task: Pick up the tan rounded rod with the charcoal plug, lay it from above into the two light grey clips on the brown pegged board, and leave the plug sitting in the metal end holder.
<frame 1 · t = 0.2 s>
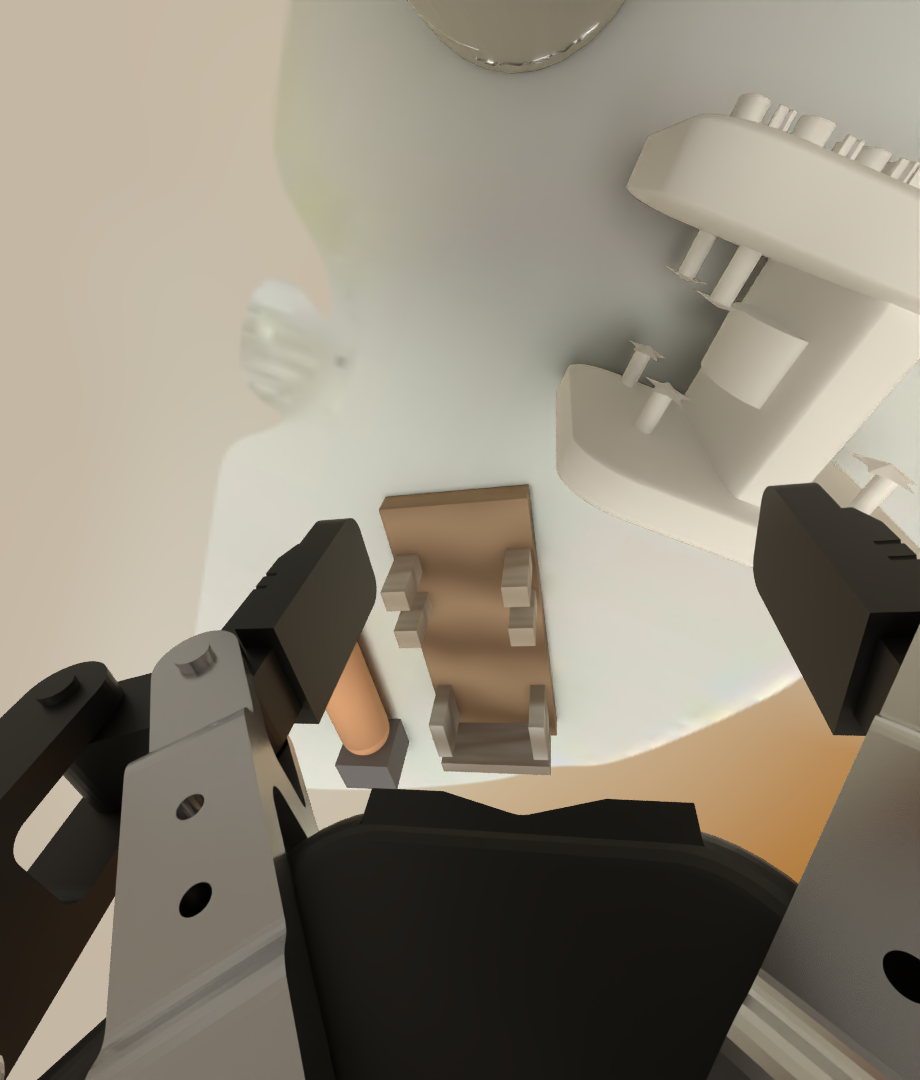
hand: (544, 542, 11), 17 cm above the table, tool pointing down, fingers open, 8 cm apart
tan rounded rod: (358, 676, 41), on the table
cable organizer: (738, 326, 23), on the table
brown pegged board: (477, 600, 35), on the table
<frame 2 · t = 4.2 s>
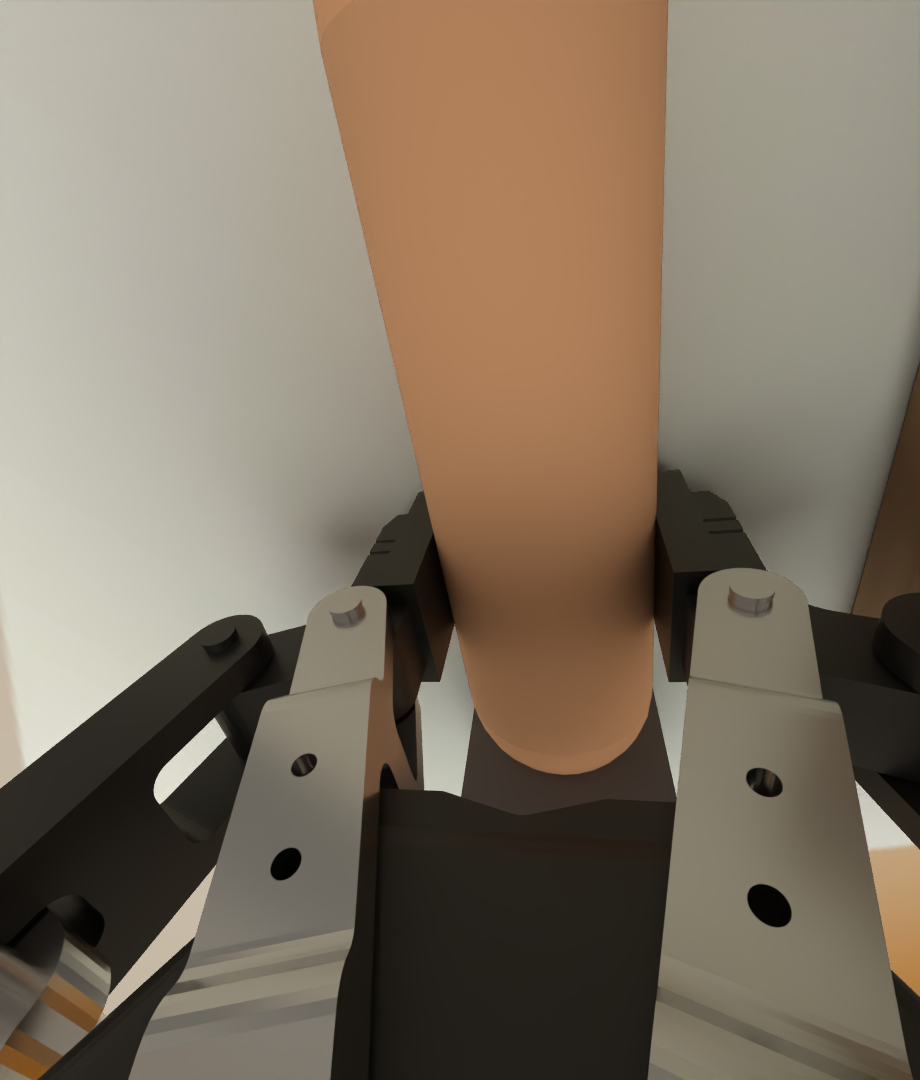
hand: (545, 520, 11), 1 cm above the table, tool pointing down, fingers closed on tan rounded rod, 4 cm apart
tan rounded rod: (542, 479, 11), on the table, touching gripper
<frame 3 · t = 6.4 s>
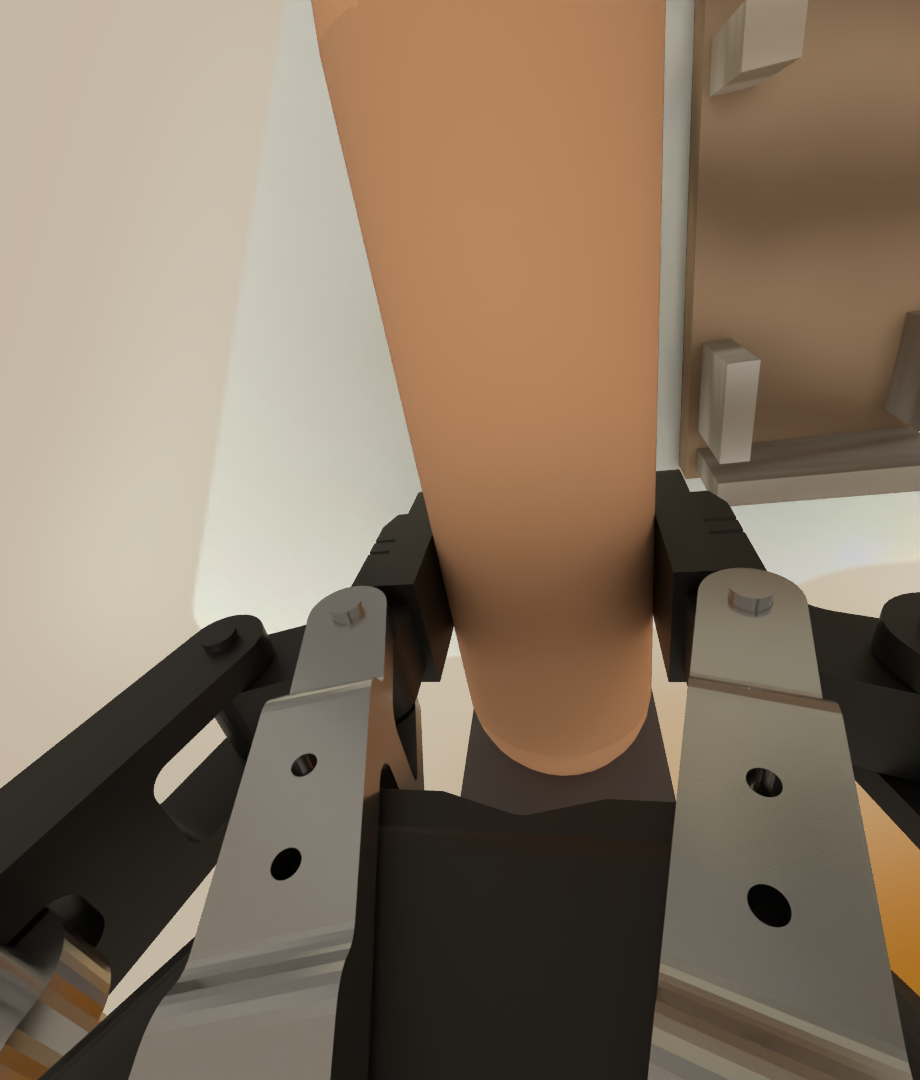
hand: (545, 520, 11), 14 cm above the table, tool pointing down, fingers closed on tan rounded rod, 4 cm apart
tan rounded rod: (541, 481, 11), point 13 cm above the table, touching gripper
brown pegged board: (829, 104, 17), on the table
when the fingers open (3 cm above the table, at t = 9.0 s): tan rounded rod drops 1 cm, resting on brown pegged board.
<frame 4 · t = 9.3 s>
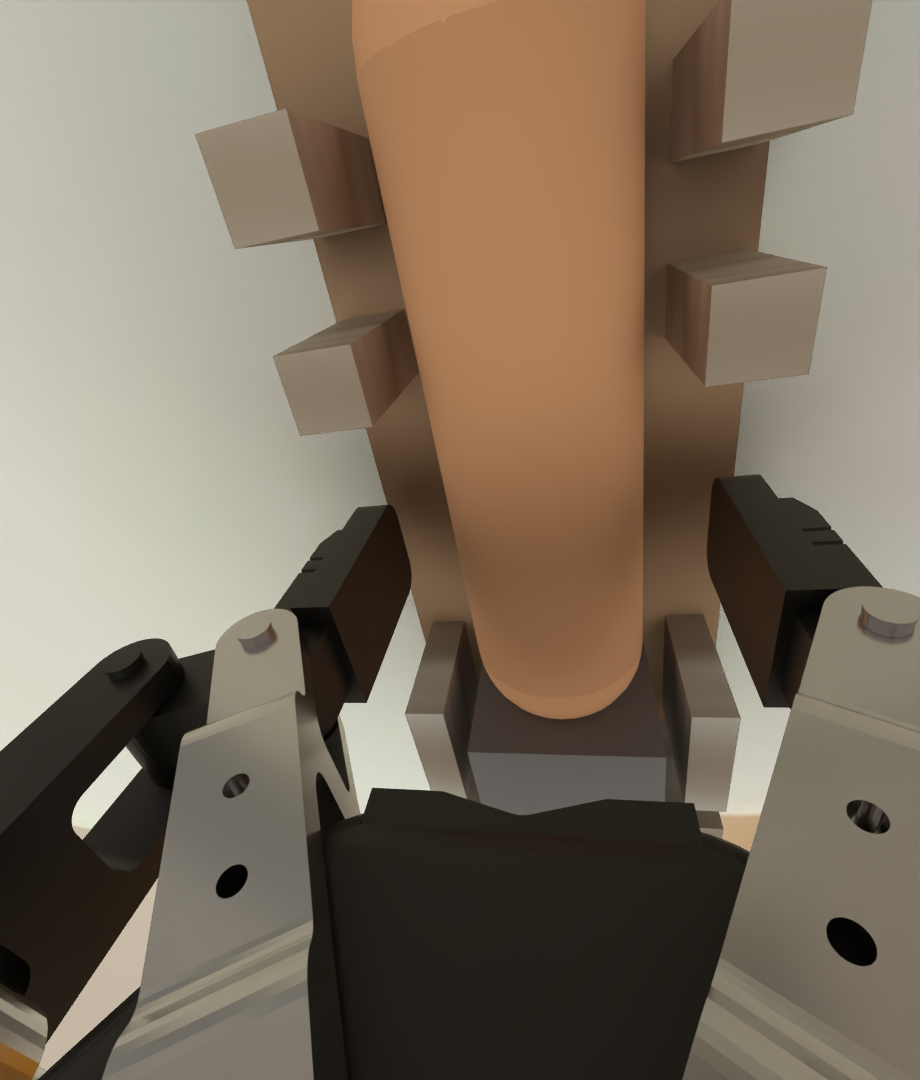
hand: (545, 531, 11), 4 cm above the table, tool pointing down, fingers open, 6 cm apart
tan rounded rod: (544, 454, 13), point 1 cm above the table, touching brown pegged board
brown pegged board: (540, 375, 13), on the table
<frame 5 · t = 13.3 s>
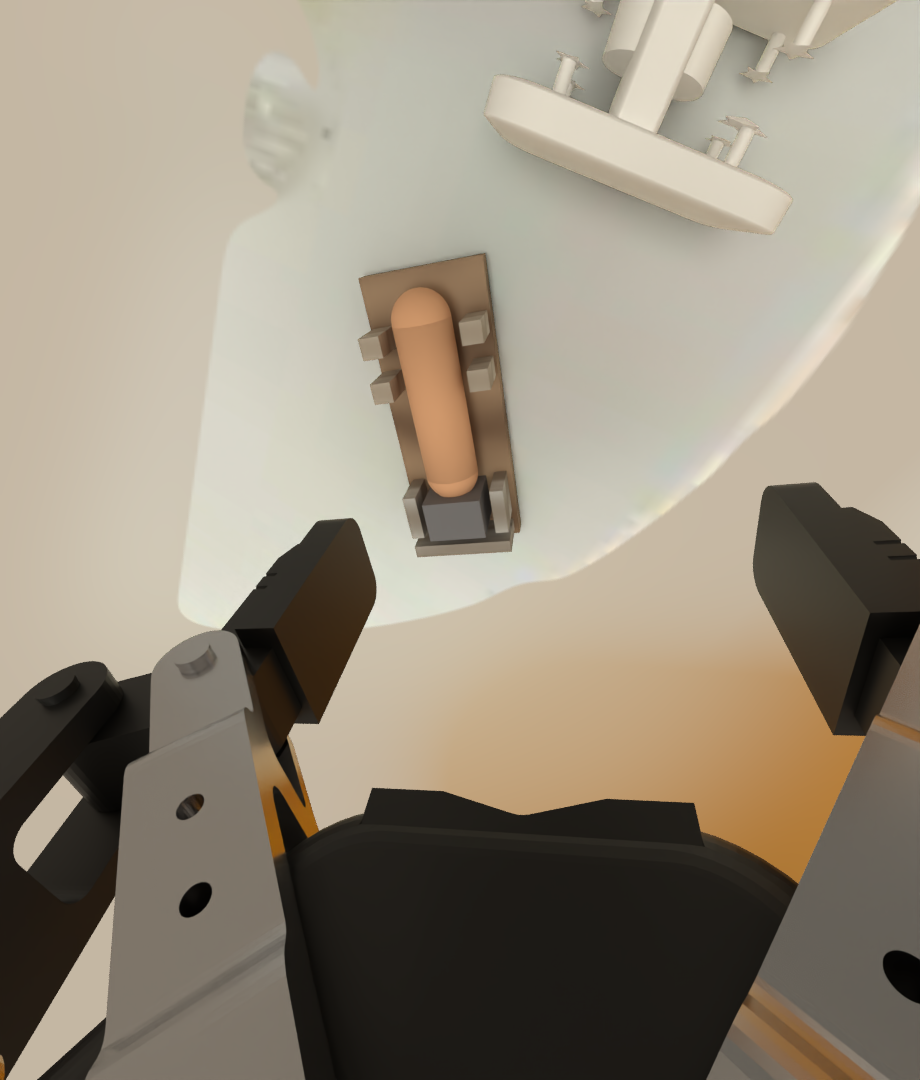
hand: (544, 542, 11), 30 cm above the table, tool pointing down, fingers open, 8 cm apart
tan rounded rod: (446, 413, 39), point 1 cm above the table, touching brown pegged board
cable organizer: (646, 77, 29), on the table
brown pegged board: (446, 387, 40), on the table
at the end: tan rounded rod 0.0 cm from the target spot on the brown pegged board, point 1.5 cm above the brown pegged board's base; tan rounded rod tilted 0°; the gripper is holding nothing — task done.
